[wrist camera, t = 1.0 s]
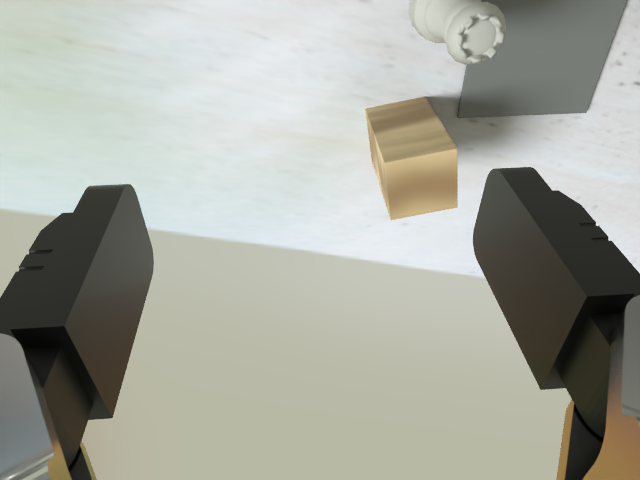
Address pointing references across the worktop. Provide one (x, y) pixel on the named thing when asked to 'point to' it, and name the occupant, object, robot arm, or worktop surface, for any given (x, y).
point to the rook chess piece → (460, 27)
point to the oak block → (412, 158)
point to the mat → (542, 58)
